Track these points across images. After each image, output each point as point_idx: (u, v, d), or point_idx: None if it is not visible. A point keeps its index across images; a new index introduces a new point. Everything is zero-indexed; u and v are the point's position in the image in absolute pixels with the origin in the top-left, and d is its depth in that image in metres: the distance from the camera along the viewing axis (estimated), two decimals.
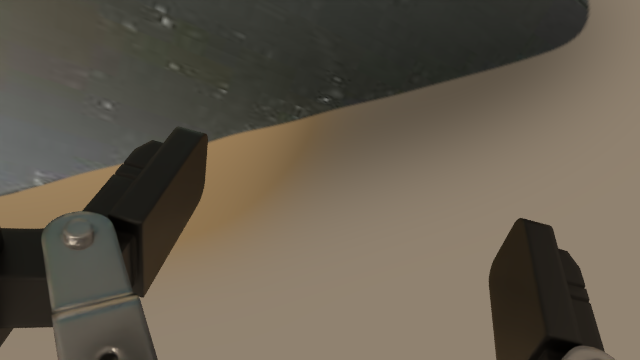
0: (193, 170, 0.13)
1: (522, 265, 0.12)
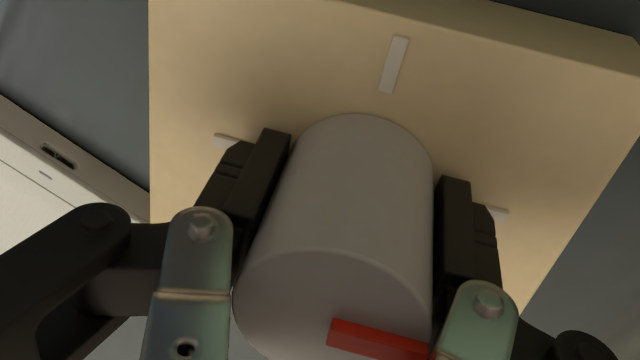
0: (280, 169, 0.13)
1: (438, 216, 0.13)
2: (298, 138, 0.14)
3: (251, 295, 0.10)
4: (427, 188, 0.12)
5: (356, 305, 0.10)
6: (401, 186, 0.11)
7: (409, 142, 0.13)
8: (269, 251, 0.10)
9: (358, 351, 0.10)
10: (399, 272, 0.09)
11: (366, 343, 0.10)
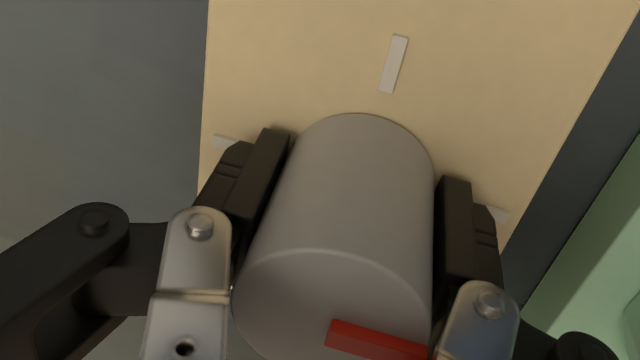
0: (279, 169, 0.13)
1: (439, 216, 0.13)
2: (299, 137, 0.14)
3: (250, 294, 0.10)
4: (428, 190, 0.12)
5: (356, 306, 0.10)
6: (402, 187, 0.11)
7: (411, 143, 0.13)
8: (270, 251, 0.10)
9: (357, 353, 0.10)
10: (400, 275, 0.09)
11: (365, 345, 0.10)
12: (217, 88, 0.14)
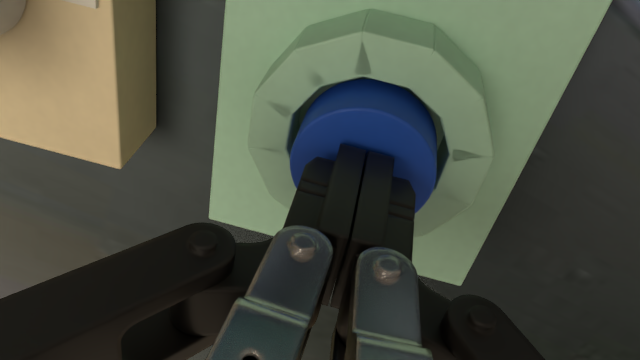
0: None
1: (359, 190, 0.13)
2: None
3: None
4: None
5: None
6: None
7: None
8: None
9: None
10: None
11: None
12: None
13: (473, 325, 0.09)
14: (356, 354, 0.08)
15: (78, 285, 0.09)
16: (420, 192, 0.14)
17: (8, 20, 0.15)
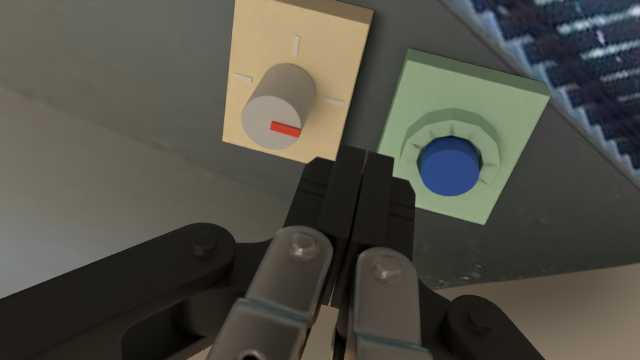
0: None
1: (359, 190, 0.13)
2: None
3: (247, 114, 0.34)
4: (308, 88, 0.36)
5: (278, 115, 0.34)
6: (296, 84, 0.35)
7: (304, 73, 0.37)
8: (253, 98, 0.33)
9: (279, 131, 0.34)
10: (290, 103, 0.33)
11: (281, 128, 0.34)
12: (235, 55, 0.37)
13: (473, 325, 0.09)
14: (356, 354, 0.08)
15: (78, 285, 0.09)
16: (472, 181, 0.37)
17: None
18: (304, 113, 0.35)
